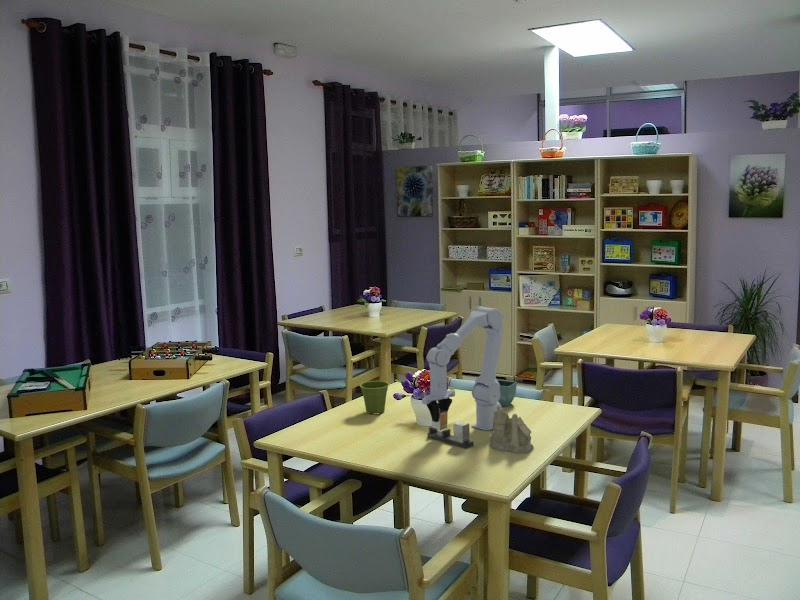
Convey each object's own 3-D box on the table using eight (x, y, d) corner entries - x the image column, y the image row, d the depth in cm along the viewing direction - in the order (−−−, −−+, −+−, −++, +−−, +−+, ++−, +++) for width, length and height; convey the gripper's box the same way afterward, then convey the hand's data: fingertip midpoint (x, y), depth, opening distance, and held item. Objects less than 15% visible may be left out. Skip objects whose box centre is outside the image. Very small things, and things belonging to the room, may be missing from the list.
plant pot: (356, 410, 288) (355, 383, 287) (382, 406, 293) (382, 379, 292) (367, 417, 278) (366, 389, 276) (394, 413, 283) (394, 385, 281)
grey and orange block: (438, 425, 253) (438, 408, 252) (447, 428, 250) (447, 411, 249) (431, 427, 251) (431, 410, 250) (440, 430, 248) (440, 413, 247)
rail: (427, 436, 253) (427, 416, 252) (435, 434, 256) (435, 413, 255) (465, 448, 240) (465, 426, 239) (473, 445, 242) (473, 424, 241)
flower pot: (517, 403, 293) (517, 381, 291) (508, 408, 285) (508, 386, 284) (497, 400, 297) (497, 379, 296) (488, 405, 290) (488, 384, 289)
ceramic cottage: (522, 456, 231) (522, 410, 230) (480, 448, 241) (479, 404, 241) (546, 446, 243) (546, 402, 242) (504, 438, 253) (504, 396, 252)
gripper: (432, 388, 241) (432, 427, 243) (461, 380, 251) (461, 417, 252) (417, 384, 246) (418, 423, 248) (446, 377, 256) (447, 414, 258)
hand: (439, 420), depth 250 cm, fingers closed on grey and orange block, 3 cm apart
